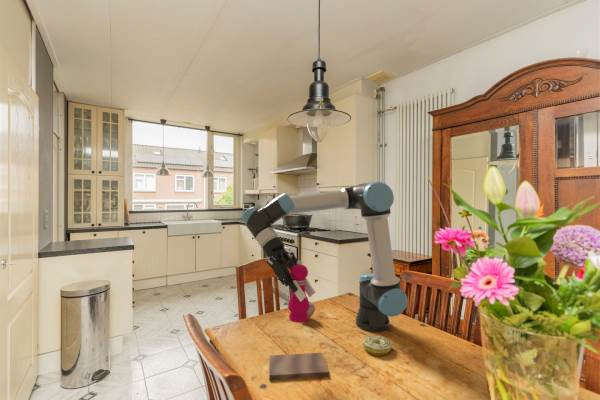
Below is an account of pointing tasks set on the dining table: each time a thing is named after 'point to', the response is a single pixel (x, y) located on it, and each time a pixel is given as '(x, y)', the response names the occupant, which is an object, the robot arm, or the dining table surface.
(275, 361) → the walnut stand
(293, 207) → the robot arm
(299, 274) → the pepper mill
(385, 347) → the decorated donut
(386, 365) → the dining table surface
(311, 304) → the decorative fruit
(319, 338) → the dining table surface
